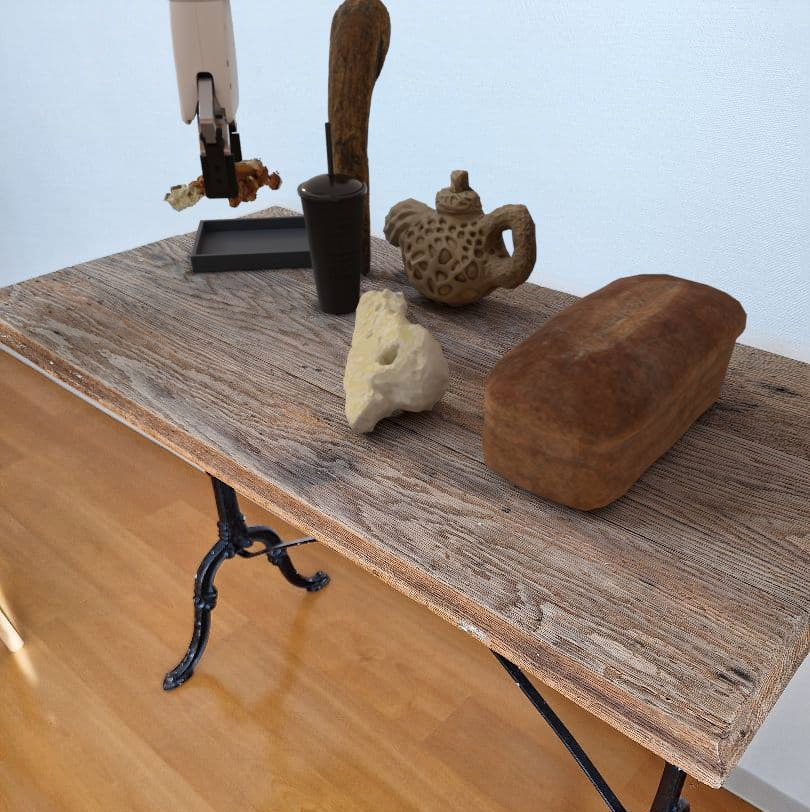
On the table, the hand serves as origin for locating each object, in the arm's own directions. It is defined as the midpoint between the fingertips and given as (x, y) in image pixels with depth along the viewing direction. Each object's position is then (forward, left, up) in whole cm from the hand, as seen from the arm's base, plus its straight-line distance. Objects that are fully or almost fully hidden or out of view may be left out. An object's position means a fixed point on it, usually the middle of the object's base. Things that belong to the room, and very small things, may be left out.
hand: (225, 184), depth 84 cm
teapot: (+25, +3, -16) cm, 30 cm away
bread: (+34, -28, -16) cm, 47 cm away
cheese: (+14, -18, -16) cm, 28 cm away
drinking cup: (+11, +4, -16) cm, 20 cm away
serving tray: (+1, +24, -15) cm, 29 cm away
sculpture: (+15, +14, -16) cm, 26 cm away
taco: (0, -1, -1) cm, 2 cm away
